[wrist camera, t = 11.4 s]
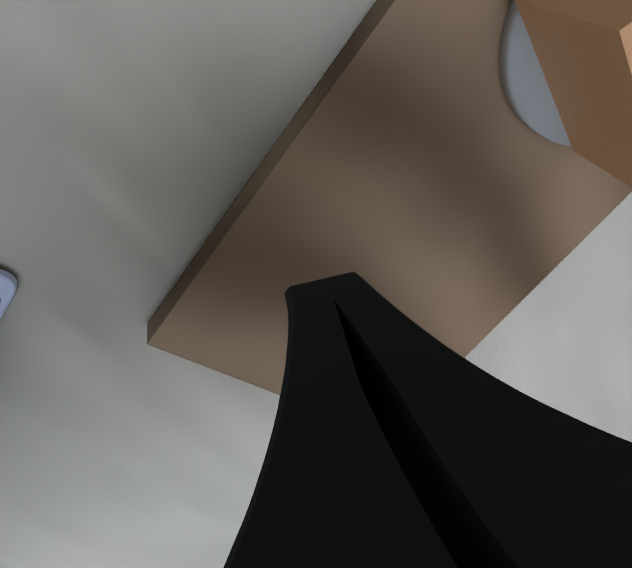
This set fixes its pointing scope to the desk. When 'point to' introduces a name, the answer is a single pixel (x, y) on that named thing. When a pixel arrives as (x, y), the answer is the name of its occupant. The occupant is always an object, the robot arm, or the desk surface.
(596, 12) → the collar
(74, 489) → the desk surface
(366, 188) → the hub board
